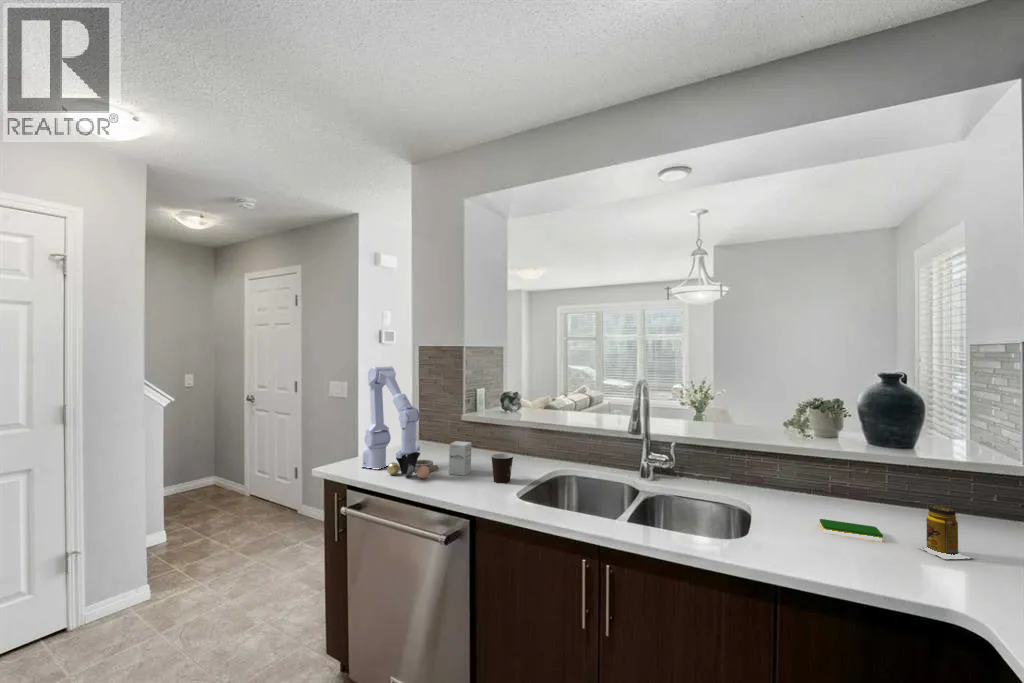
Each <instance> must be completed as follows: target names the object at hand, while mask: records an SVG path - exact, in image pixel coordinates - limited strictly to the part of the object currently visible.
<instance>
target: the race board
mask: <svg viewBox="0 0 1024 683" xmlns="http://www.w3.org/2000/svg"><path fill="white" fill-rule="evenodd" d="M420 466H426V467H428V469H429V472H430V473H432V472H433V470H434V471H435V469H436V470H438V469H439V465H437V464H434V461H432V460H430V459H429V460H428V459H417V462H416V466H415V470H414V472H417V469H418V468H419V467H420ZM437 468H438V469H437ZM431 471H432V472H431Z"/></svg>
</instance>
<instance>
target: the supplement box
mask: <svg viewBox="0 0 1024 683" xmlns="http://www.w3.org/2000/svg"><path fill="white" fill-rule="evenodd" d="M472 445H473V444H472V442H471V441H459V440H454V441H453V442H451V443H449V448H448V449H449V450H448V451H449V453H448V454H449V455H448V457H449V458H448V475H455V476H463V475H465V476H467V475H468V474H469V473H471V472H472V471H471V469H472ZM470 471H471V472H470Z"/></svg>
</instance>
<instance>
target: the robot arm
mask: <svg viewBox="0 0 1024 683" xmlns="http://www.w3.org/2000/svg"><path fill="white" fill-rule="evenodd" d="M396 373H397V372H396V370H395V368H394V367H393V366H392V365H388V366H371V367H370V368H369V370H368V372H367V379H368V380H367V381H368V386H369V400H370V401H369V402H370V422H371V423H370V425H369V426H368V427H367V428H366V429H365V434H364V435H365V436H364V444H365V445H366V446H365V447H364V448H363V451H362V463H361V464H362V466H364V467H370V468H379V469H380V468H383V469H385V468H384V467H385V466H386V464H387V447H388V445H389V444H390V442H391V433H390V430H389V429H390V428H389V427H388V426H387V425H386V424H385V422H384V420H385V419H384V418H385V417H384V400H383V398H384V397H383V388H384V386H386V387H387V389H388V390H389V392H390V393H391V395H392V396H393V400H392V403H393V404H394V406H395V408H396V409H397V412H398V420H399V424H400V428H401V433H400V434H401V437H400V438H401V441H400V442H401V444H400V450H399V451H396V452H395V459H396V462H397V464H398V465H399V467H400V469H399V470H400V472H401V475H403V474H407V470H408V464H412V465H413V467H414V470H415V466H416V462H417V460H419V457H420V456H421V452H420V451H421V450H420V449H421V446H420V445H416V444H417V443H416V442H417V441H416V440H417V433H416V432H417V422H418V421H419V420H420V411H419V410H418V408H416V407H415V406H413V405H412V404H411V402H410V399H408V396H407V395H406V394H405V393H402V391H401V388H400V386H399V383H398V381H397V380H396V377H397V376H396V375H397V374H396ZM362 466H361V467H362Z"/></svg>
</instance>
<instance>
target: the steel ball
mask: <svg viewBox="0 0 1024 683" xmlns="http://www.w3.org/2000/svg"><path fill="white" fill-rule="evenodd" d="M413 474H414V467H413V465H412V464H408V470H407V474H402V475H403V476H405V477H411V476H412V475H413Z"/></svg>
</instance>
